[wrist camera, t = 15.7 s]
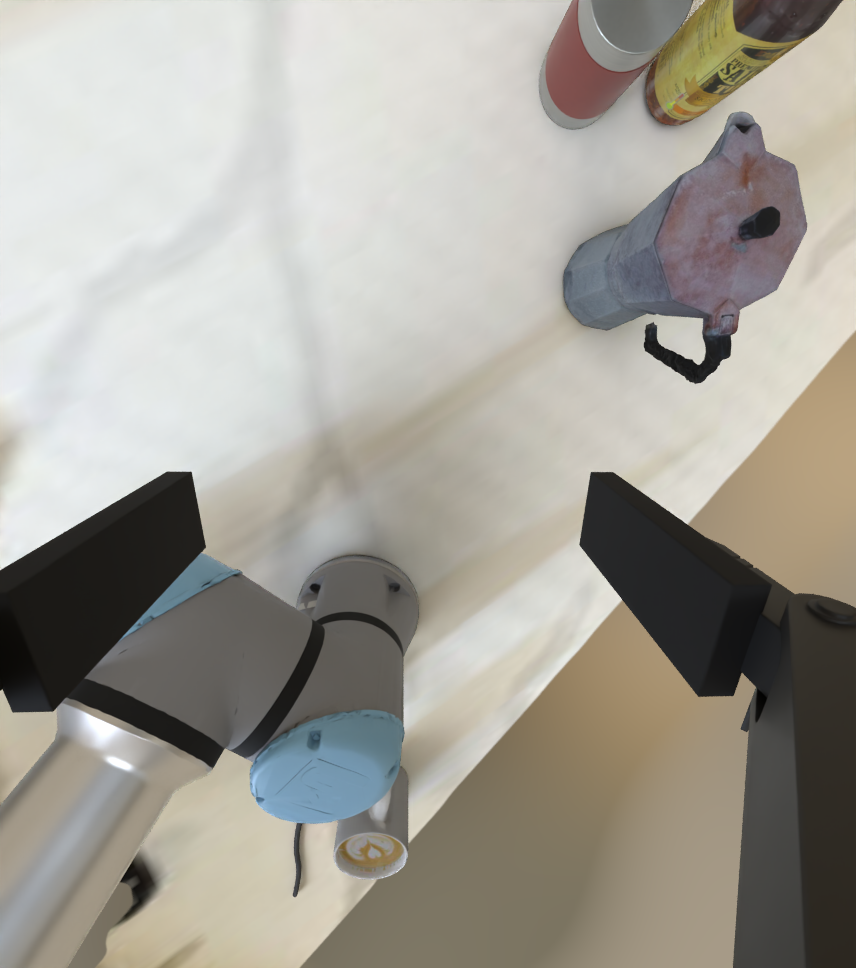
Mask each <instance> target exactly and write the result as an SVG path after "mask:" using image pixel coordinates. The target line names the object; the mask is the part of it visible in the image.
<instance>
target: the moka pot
mask: <svg viewBox="0 0 856 968" xmlns="http://www.w3.org/2000/svg"><path fill="white" fill-rule="evenodd" d="M806 230H807V222H806V216H805V211H804V207H803V202H802V197H801V192H800V186H799V181H798V174H797V170H796V167H795V165H794V164H792V163H790V162H788V161H786V160H784V159H782V158H780V157H777V156H775V155H773V154H771V153H769V152H767V151H766V150H765V146H764V141H763V137H762V132H761V127H760V126H759V125H758V124H757V123H755V121H754V119H753V117H752V116H751V115H750V114H748V113H746V112H736V113H732V114H730V116H729V117H728V120H727V123H726V126H725V129H724V132H723V133H722V135H721V136H720V138H719V139H718V141H717V142H716V144H715V146H714V147H713V149H712V150H711V151H710V153H709V154H708V155H707V157H706V158H705V160H704V161H703V163H702V164H700V165H698V166H697V167H695V168H693V169H691V170H689V171H688V172H686V173H684V174H682V175H680V176H679V177H678V178H677V179H676V180H675V181H674V182H673V183H672V184H671V185H670V186H669V187H668V188H667V189H665V190H664V191H663V192H662V193H661V194H660V195H659V196H658V197H657V198H656V199H655V200H654V201H653V202H651V203H650V204H649V205H648V206H647V207H646V208H645V209H644V210H643V211H641V212H640V213H639V214H638V215H637V216H636V217H635V218H634V219H633V220H632V221H631V222H630V223H629V224H627V225H624V226H620V227H617V228H614V229H611V230H608V231H605V232H603V233H601V234H599V235H597V236H595V237H593V238H591V239H590V240H588V241H586V242H585V243H583V244H581V245H580V246H579V247H578V249H577V250H576V251H575V253H574V255H573V256H572V258H571V260H570V261H569V263H568V266H567V268H566V269H565V272H564V280H563V281H564V298H565V303H566V305H567V306H568V308H569V310H570V312H571V313H572V314H573V315H574V317H575V318H576V319H577V320H578V321H579V322H580V323H581V324H583V325H585V326H589V327H593V328H597V329H603V330H610V329H612V328H614V327H617V326H619V325H621V324H624V323H626V322H628V321H630V320H634V319H635V318H637V317H640V316H642V315H645V314H647V313H648V314H653V315H655V314H659V315H665V316H681V317H692V318H703V331H702V334H703V339H704V342H705V347H706V355H705V359H704V361H703V362H702V363H701V364H700V365H697V364H696V363H694V362H693V360H692V359H685V358H684V357H683V356H681V355H679V354H676V353H675V352H673V351H670V350H668V349H665V348H664V347H663V346H661V345H660V344H659V343H658V340H657V325H654V322H653V323H651V324H648V325H646V330H645V335H646V337H645V342H644V348H645V351H646V352H648V353H649V354H651V355H653V357H654V358H656V359H657V360H660V361H662V362H663V363H664V364H665V365H667V366H669V367H671V368H672V369H673V370H674V371H675V372H678V373H680V374H681V375H683V376H685V378H686V380H689V382H694V383H695V384H697V383H701V382H703V381H704V380H705V379H706V377H707V376H709V375H710V374H711V373H713V372H714V371H715V370H716V369H717V367H718V366H719V365H720V362H721V361H722V360H723V359H727V358H729V357H730V355H731V336H730V335H732V334H734V333H736V331H737V328H738V320H739V313H740V311H739V310H741V309H742V308H744V307H746V306H748V305H750V304H752V303H753V302H755V301H757V300H759V299H761V298H763V297H765V296H767V295H769V294H770V293H772V292H774V291H775V290H777V288H778V286H779V284H780V282H781V281H782V279H783V277H784V275H785V273H786V271H787V269H788V267H789V265H790V263H791V261H792V259H793V257H794V255H795V253H796V251H797V249H798V247H799V245H800V243H801V241H802V238H803V237H804V235H805V233H806Z"/></svg>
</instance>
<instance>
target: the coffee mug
mask: <svg viewBox="0 0 856 968" xmlns="http://www.w3.org/2000/svg"><path fill="white" fill-rule="evenodd" d="M333 857H334V862H335V864H336V866H337V867H338V868H339V869H340V870H341V871H342V872H344V873H345V874H347V875H349V876H352V877H355V878H360V879H380V878H384V877H387V876H390V875H392V874H394V873H396V872H398V871H399V870H400V869H401V868H402V867H403V866H404V865H405V863H406V861H407V858H408V776H407V774H406V772H405V770H404V769H403V768H402V767H401V766H400V768H399V772H398V775H397V778H396V780H395V782H394V784H393V785H392V787H391V788H390V790H389V791H388V792H387V794H386V795H385V796H384V797H383V798H382V799H381V800H379V801H378V802H377V803H376V804H374V805H373V806H372V807H370V808H369V809H367V810H365V811H363V812H361V813H359V814H357V815H354V816H352V817H349V818H346V819H342V820H338V826H337V833H336V840H335V847H334V856H333Z"/></svg>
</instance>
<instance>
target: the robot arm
mask: <svg viewBox="0 0 856 968" xmlns="http://www.w3.org/2000/svg"><path fill="white" fill-rule="evenodd" d="M579 545H580V546H581V548H582V549H583V550H584V551H585V553H586V554H587V555H588V557H589V558H590V559H591V560H592V562H593V563H594V564H595V565H596V567H597V568H598V569H599V571H600V572H601V573H602V574H603V576H604V577H605V578H606V579H607V581H608V582H609V583H610V585H611V586H612V587H613V588H614V590H615V591H616V592H617V594H618V595H619V596H620V597H621V599H622V600H623V601H624V602H625V604H626V605H627V606H628V608H629V609H630V610H631V611H632V613H633V614H634V615H635V616H636V618H637V619H638V620H639V621H640V623H641V624H642V625H643V627H644V628H645V629H646V630H647V632H648V633H649V634H650V636H651V637H652V638H653V639H654V641H655V642H656V643H657V644H658V646H659V647H660V648H661V649H662V651H663V652H664V653H665V655H666V656H667V657H668V658H669V660H670V661H671V662H672V663H673V665H674V666H675V667H676V669H677V670H678V671H679V672H680V674H681V675H682V676H683V678H684V679H685V680H686V681H687V682H688V684H689V685H690V687H691V688H692V689H693V690H694V692H695V693H696V694H697V695H698V697H703V696H705V697H707V696H733V695H734V693H735V690H736V687H737V685H738V682H739V678H740V676H741V673H743V674H744V675H745V676H746V677H747V678H748V679H749V680H750V681H751V682H752V683H753V684H754V685H755V686H756V689H755V692H754V695H753V697H752V700H751V702H750V705H749V708H748V711H747V713H746V716H745V718H744V721H743V724H742V727H741V730H744V731H746V732H747V731H748V730H749V737H748V750H747V765H746V780H745V795H744V811H743V825H742V840H741V856H740V870H739V885H738V900H737V916H736V930H735V945H734V961H733V968H856V608H855V607H853V606H851V605H848V604H846V603H843V602H840V601H838V600H834V599H831V598H829V597H824V596H820V595H814V594H802V593H801V594H800V593H799V594H796V595H795V594H794V593H792V592H791V591H789V590H788V589H787V588H785V587H784V586H782V585H781V584H779V583H778V582H776V581H775V580H773V579H772V578H771V577H769V576H768V575H766V574H765V573H763V572H762V571H760V570H759V569H757V568H753V565H752V564H750V563H749V562H747V561H746V560H744V559H740V556H739V555H737V554H736V553H734V552H733V551H731V550H730V549H728V548H727V547H726V546H724V545H722V544H719V543H717V542H715V541H713V540H710V539H708V538H706V537H704V536H703V535H701V534H700V533H698V532H697V531H696V530H694V529H693V528H691V527H690V526H689V525H687V524H686V523H684V522H683V521H682V520H680V519H679V518H677V517H676V516H674V515H673V514H672V513H670V512H669V511H667V510H666V509H665V508H663V507H662V506H660V505H659V504H657V503H656V502H655V501H653V500H652V499H650V498H649V497H648V496H646V495H645V494H643V493H642V492H640V491H639V490H638V489H636V488H635V487H633V486H632V485H631V484H629V483H628V482H626V481H625V480H623V479H622V478H621V477H619V476H618V475H616V474H615V473H614V472H591V475H590V481H589V487H588V494H587V500H586V506H585V513H584V519H583V525H582V532H581V538H580V544H579ZM205 548H206V545H205V540H204V535H203V530H202V524H201V519H200V514H199V509H198V503H197V498H196V493H195V487H194V482H193V477H192V472H166V473H164V474H162V475H161V476H159V477H157V478H156V479H154V480H152V481H151V482H149V483H147V484H146V485H144V486H142V487H140V488H139V489H137V490H135V491H134V492H132V493H130V494H129V495H127V496H125V497H124V498H122V499H120V500H118V501H117V502H115V503H113V504H112V505H110V506H108V507H107V508H105V509H103V510H102V511H100V512H98V513H96V514H95V515H93V516H91V517H90V518H88V519H86V520H85V521H83V522H81V523H80V524H78V525H76V526H74V527H73V528H71V529H69V530H68V531H66V532H64V533H63V534H61V535H59V536H58V537H56V538H54V539H52V540H51V541H49V542H47V543H46V544H44V545H42V546H41V547H39V548H37V549H36V550H34V551H32V552H30V553H29V554H27V555H25V556H24V557H22V558H20V559H19V560H17V561H15V562H14V563H12V564H10V565H8V566H7V567H5V568H3V569H2V570H0V690H2V689H3V691H4V694H5V696H6V698H7V700H8V703H9V705H10V707H11V710H12V712H53V711H54V710H55V709H56V708H57V733H56V737H55V740H54V742H53V743H52V744H51V745H50V746H49V748H48V749H47V750H46V751H45V752H44V754H43V755H42V756H41V757H40V758H39V760H38V761H37V762H36V763H35V764H34V766H33V767H32V768H31V769H30V770H29V772H28V773H27V774H26V775H25V776H24V778H23V779H22V780H21V781H20V782H19V783H18V785H17V786H16V787H15V788H14V789H13V791H12V792H11V793H10V794H9V795H8V797H7V798H6V799H5V800H4V801H3V803H2V804H1V805H0V968H67V967H68V965H69V964H70V962H71V960H72V959H73V957H74V955H75V954H76V952H77V951H78V949H79V947H80V945H81V944H82V942H83V941H84V939H85V937H86V936H87V934H88V932H89V931H90V929H91V928H92V926H93V924H94V923H95V921H96V919H97V918H98V916H99V915H100V913H101V911H102V910H103V908H104V906H105V905H106V903H107V901H108V900H109V898H110V897H111V895H112V893H113V892H114V890H115V888H116V887H117V885H118V883H119V882H120V880H121V879H122V877H123V875H124V874H125V872H126V870H127V869H128V867H129V865H130V864H131V862H132V861H133V859H134V857H135V856H136V854H137V852H138V851H139V849H140V847H141V846H142V844H143V843H144V841H145V839H146V838H147V836H148V834H149V833H150V831H151V829H152V828H153V826H154V825H155V823H156V821H157V820H158V818H159V816H160V815H161V813H162V811H163V810H164V808H165V807H166V805H167V803H168V802H169V800H170V798H171V797H172V795H173V794H174V793H175V792H176V791H178V790H179V789H180V788H182V787H183V786H186V785H188V784H190V783H192V782H194V781H196V780H198V779H200V778H203V777H205V776H207V775H209V774H210V773H211V771H212V769H213V767H214V766H215V764H216V762H217V761H218V759H219V757H220V755H221V754H222V752H223V750H224V749H228V750H230V751H232V752H234V753H236V754H238V755H240V756H242V757H244V758H246V759H248V760H250V761H252V762H253V765H252V767H251V769H250V789H251V792H252V795H253V796H254V797H256V802H257V804H258V805H259V806H260V807H261V808H262V809H263V810H264V811H266V812H268V813H269V814H271V815H273V816H275V817H277V818H280V819H283V820H286V821H291V822H296V823H297V826H296V831H295V838H294V856H295V862H296V882H295V887H294V892H293V897H296V896H297V894H298V889H299V884H300V878H301V861H300V855H299V837H300V830H301V826H302V823H310V824H316V823H328V822H332V821H336V820H342V819H346V818H349V817H352V816H354V815H357V814H359V813H361V812H363V811H365V810H367V809H369V808H370V807H372V806H373V805H374V804H376V803H377V802H378V801H379V800H381V799H382V798H383V797H384V796H385V795H386V794H387V792H388V791H389V790H390V788H391V787H392V785H393V784H394V782H395V780H396V778H397V775H398V772H399V768H400V758H401V748H402V742H403V739H404V727H403V657H404V655H405V652H406V650H407V648H408V646H409V644H410V642H411V640H412V638H413V636H414V634H415V631H416V628H417V623H418V618H419V605H418V597H417V594H416V591H415V588H414V586H413V585H412V583H411V581H410V580H409V579H408V578H407V576H406V575H405V574H404V573H403V572H402V571H400V570H399V569H398V568H397V567H395V566H393V565H392V564H390V563H388V562H386V561H383V560H381V559H378V558H374V557H369V556H357V555H356V556H345V557H341V558H337V559H334V560H331V561H329V562H327V563H325V564H323V565H322V566H320V567H319V568H317V569H316V570H315V571H314V572H313V573H312V574H311V575H310V576H309V577H308V578H307V580H306V581H305V583H304V585H303V587H302V589H301V592H300V594H299V597H298V601H297V606H296V608H294V607H292V606H291V605H289V604H288V603H286V602H284V601H283V600H281V599H280V598H278V597H276V596H275V595H273V594H272V593H270V592H269V591H267V590H265V589H264V588H262V587H261V586H259V585H258V584H256V583H255V582H253V581H252V580H250V579H249V578H247V577H245V576H244V575H242V572H241V571H240V570H234V569H232V568H230V567H228V566H226V565H224V564H222V563H221V562H219V561H217V560H215V559H213V558H212V557H210V556H208V555H206V554H203V553H201V552H202V551H203V550H204V549H205Z"/></svg>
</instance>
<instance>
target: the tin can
mask: <svg viewBox="0 0 856 968" xmlns="http://www.w3.org/2000/svg"><path fill="white" fill-rule="evenodd" d="M692 3H693V0H572V2H571V4H570V6H569V8H568V10H567V12H566V14H565V16H564V18H563V20H562V22H561V24H560V26H559V28H558V30H557V32H556V34H555V36H554V39H553V41H552V43H551V45H550V48H549V50H548V52H547V54H546V56H545V58H544V61H543V63H542V66H541V70H540V76H539V93H540V98H541V102H542V105H543V107H544V109H545V111H546V113H547V115H548V116H549V117H550V118H551V119H552V120H553V121H554V122H555V123H556V124H558V125H559V126H562V127H564V128H567V129H580V128H584V127H587V126H589V125H591V124H592V123H594V122H595V121H596V120H598V119H599V118H600V117H601V116H602V115H603V113H604V112H605V111H606V110H607V109H608V108H609V107H610V106H612V104H613V103H614V102H615V101H616V100H617V99H618V98H619V97H620V96H621V94H622V93H623V92H624V91H625V90H626V89H627V88H628V87H629V86H630V85H631V83H632V82H633V81H634V80H635V79H636V78H637V77H638V76H639V75H640V73H641V72H642V71H643V70H644V69H645V68H646V67H647V66H648V65H649V64H650V62H651V61H652V60H653V59H654V58H655V57H656V56H657V55H658V53H659V52H660V51H661V50H662V48H663V47H664V46H665V45H666V44H667V42H668V41H669V40H670V39H671V38H672V37H673V36H674V35H675V33H676V32H677V31H678V30H679V28H680V27H681V25H682V24H683V22H684V21H685V19H686V17H687V15H688V13H689V11H690V8H691V6H692Z"/></svg>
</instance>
